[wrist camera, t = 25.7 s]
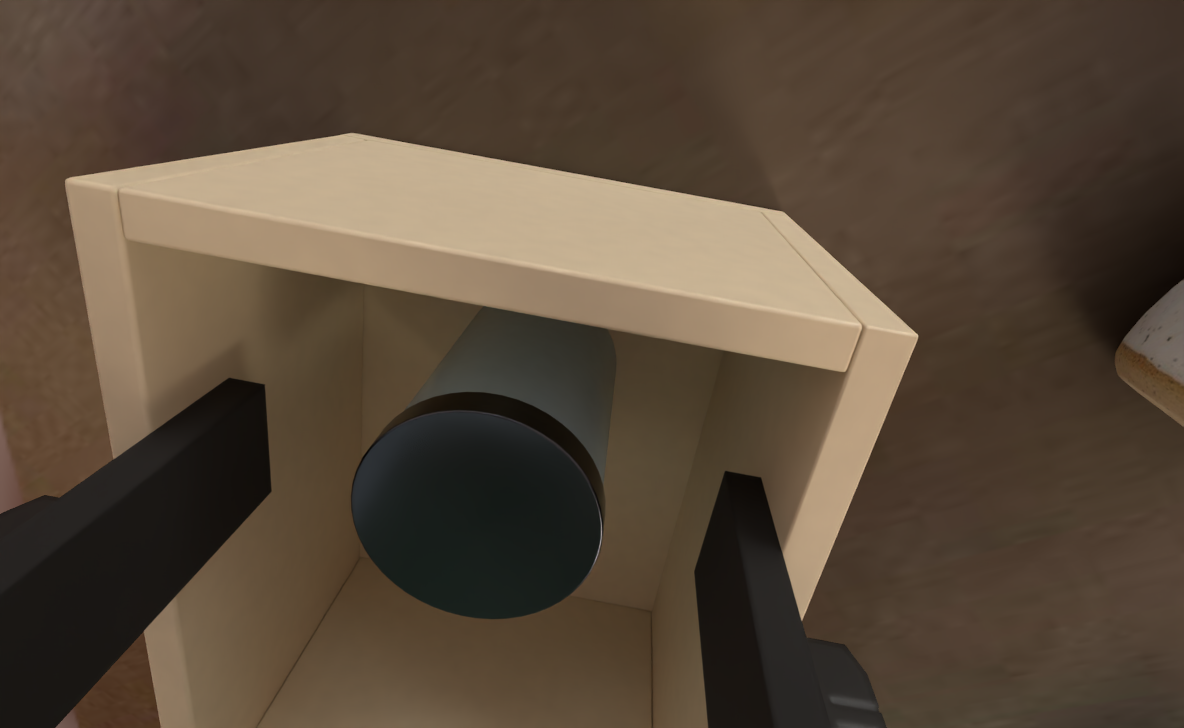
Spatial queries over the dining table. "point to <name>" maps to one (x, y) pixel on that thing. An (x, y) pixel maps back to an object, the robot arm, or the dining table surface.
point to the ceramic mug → (1157, 354)
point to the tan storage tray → (404, 363)
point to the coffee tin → (495, 470)
